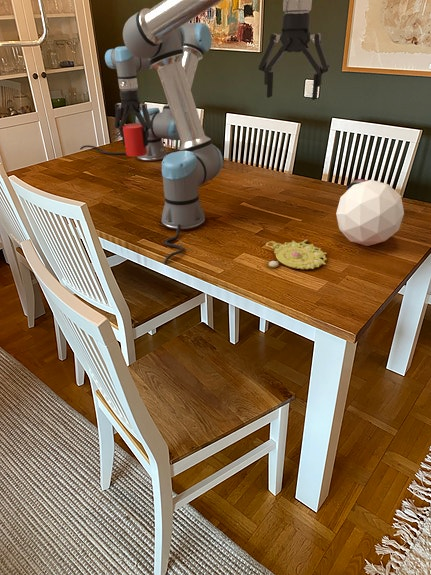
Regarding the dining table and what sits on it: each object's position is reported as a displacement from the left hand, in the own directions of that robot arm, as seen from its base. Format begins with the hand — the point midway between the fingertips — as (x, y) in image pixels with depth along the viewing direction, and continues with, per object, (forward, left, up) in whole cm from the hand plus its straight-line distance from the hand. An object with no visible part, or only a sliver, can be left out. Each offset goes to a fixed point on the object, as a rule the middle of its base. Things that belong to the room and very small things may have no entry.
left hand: (135, 145), depth 193 cm
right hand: (+81, -8, +27) cm, 86 cm away
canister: (0, 0, -4) cm, 4 cm away
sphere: (+108, -3, -14) cm, 109 cm away
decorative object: (+96, -25, -14) cm, 100 cm away
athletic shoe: (+97, +23, -14) cm, 100 cm away
